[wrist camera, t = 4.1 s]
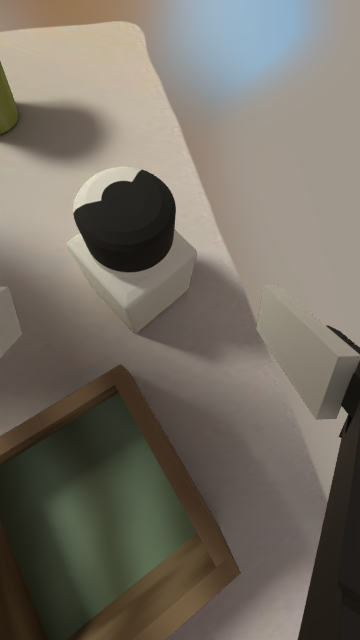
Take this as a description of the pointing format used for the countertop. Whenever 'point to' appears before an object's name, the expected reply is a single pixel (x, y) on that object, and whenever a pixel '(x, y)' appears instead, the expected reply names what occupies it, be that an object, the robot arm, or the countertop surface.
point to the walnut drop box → (102, 523)
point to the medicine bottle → (131, 244)
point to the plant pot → (6, 105)
